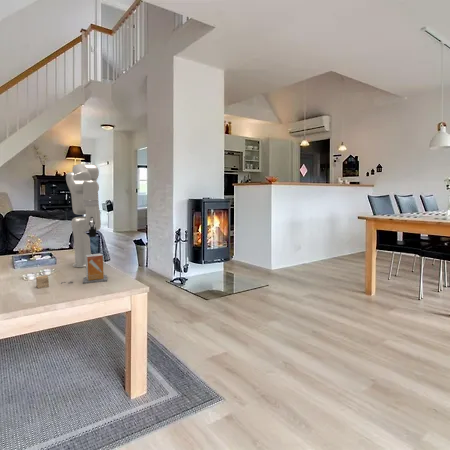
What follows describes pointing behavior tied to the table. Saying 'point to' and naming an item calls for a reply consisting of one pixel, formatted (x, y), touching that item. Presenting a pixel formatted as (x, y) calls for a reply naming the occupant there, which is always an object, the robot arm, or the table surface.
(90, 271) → the small box
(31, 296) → the table surface
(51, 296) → the table surface
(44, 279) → the oak block
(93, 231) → the robot arm
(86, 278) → the felt mat
